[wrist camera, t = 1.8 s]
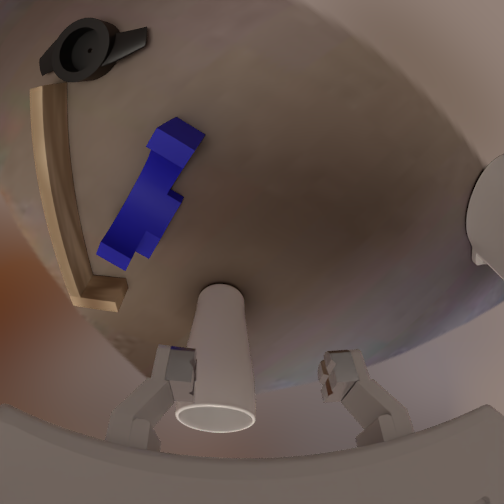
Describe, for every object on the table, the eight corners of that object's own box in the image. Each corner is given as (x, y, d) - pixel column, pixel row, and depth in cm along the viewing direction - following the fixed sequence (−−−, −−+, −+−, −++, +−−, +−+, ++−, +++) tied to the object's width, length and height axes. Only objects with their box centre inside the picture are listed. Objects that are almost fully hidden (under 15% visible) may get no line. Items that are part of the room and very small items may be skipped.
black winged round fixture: (79, 2, 13) (64, -3, 11) (160, 33, 17) (150, 27, 14) (42, 72, 17) (25, 74, 14) (115, 108, 20) (100, 112, 18)
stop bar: (107, 74, 18) (85, 75, 15) (127, 288, 31) (118, 312, 28) (55, 84, 17) (29, 89, 14) (85, 283, 31) (73, 305, 27)
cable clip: (156, 241, 28) (140, 279, 23) (119, 220, 26) (96, 254, 21) (220, 143, 23) (214, 162, 18) (176, 116, 21) (156, 127, 16)
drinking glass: (261, 304, 33) (271, 424, 21) (215, 325, 35) (208, 436, 22) (229, 266, 30) (224, 398, 17) (180, 291, 32) (157, 412, 19)
